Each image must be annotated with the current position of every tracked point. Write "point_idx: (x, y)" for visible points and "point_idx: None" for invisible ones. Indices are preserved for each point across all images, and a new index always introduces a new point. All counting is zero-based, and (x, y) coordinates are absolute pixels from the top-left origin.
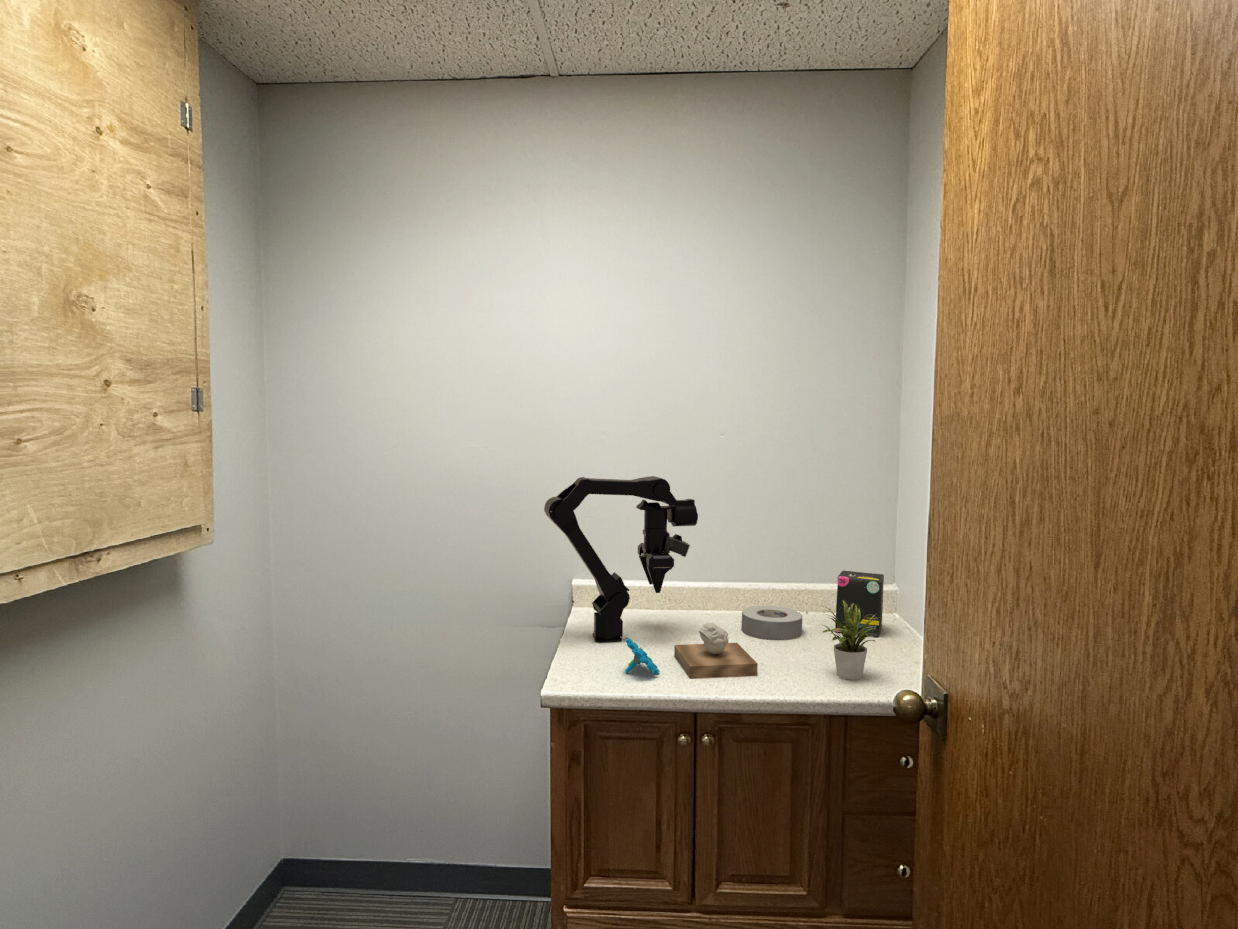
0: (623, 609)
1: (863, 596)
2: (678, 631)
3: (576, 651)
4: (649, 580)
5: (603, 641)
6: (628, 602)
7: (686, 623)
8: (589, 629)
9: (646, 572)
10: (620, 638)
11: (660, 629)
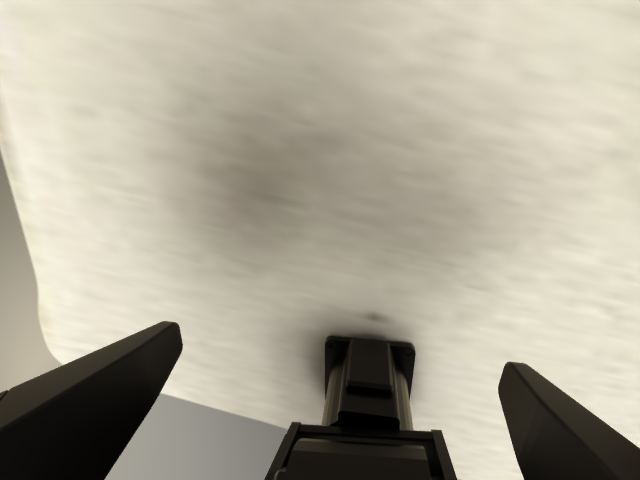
0: (449, 457)
1: None
2: (311, 104)
3: (472, 463)
4: (162, 377)
5: (409, 393)
6: (426, 461)
7: (188, 33)
8: (265, 390)
9: (98, 475)
10: (402, 349)
11: (277, 178)
